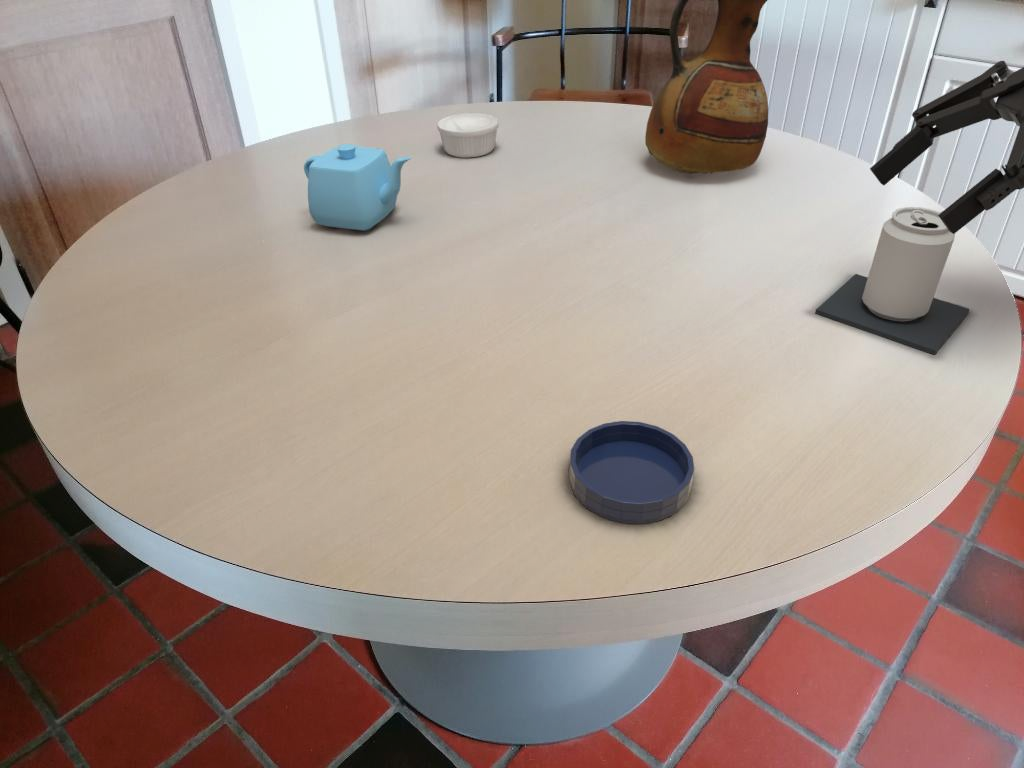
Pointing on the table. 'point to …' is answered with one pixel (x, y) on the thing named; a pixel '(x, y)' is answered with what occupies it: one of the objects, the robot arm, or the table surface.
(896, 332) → the mat
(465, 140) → the ramekin
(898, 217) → the can
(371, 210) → the teapot
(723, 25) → the ceramic pitcher
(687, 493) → the dish
